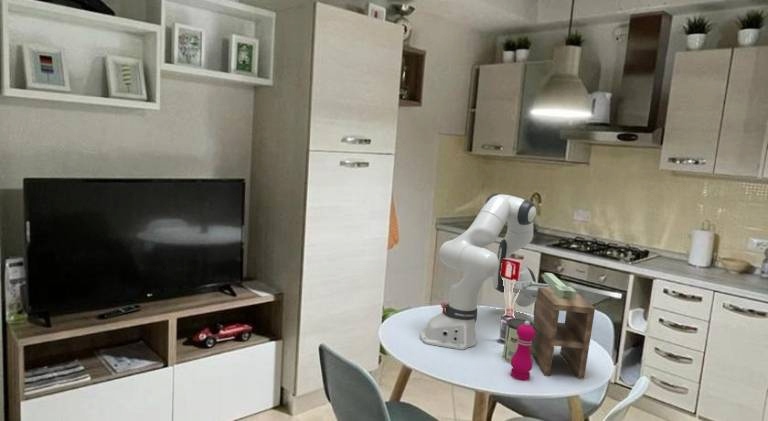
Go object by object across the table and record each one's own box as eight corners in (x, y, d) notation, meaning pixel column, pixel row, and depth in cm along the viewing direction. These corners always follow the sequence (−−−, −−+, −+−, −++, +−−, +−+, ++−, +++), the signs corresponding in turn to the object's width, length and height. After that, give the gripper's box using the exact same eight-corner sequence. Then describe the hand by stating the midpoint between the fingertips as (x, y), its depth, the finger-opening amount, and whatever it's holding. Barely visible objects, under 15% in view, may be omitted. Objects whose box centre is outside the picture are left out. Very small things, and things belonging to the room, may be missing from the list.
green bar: (558, 298, 184) (559, 290, 184) (539, 279, 208) (540, 272, 208) (575, 299, 184) (576, 291, 184) (554, 280, 208) (555, 273, 208)
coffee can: (529, 355, 196) (534, 320, 194) (531, 367, 186) (536, 330, 184) (501, 351, 198) (506, 316, 196) (502, 362, 188) (507, 325, 186)
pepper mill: (533, 381, 175) (541, 325, 172) (513, 380, 175) (520, 324, 172) (526, 371, 182) (533, 317, 179) (506, 370, 182) (513, 316, 179)
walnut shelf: (544, 375, 180) (554, 304, 177) (529, 351, 200) (538, 287, 196) (584, 379, 180) (595, 308, 176) (565, 354, 200) (574, 290, 196)
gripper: (508, 282, 229) (516, 274, 216) (554, 287, 229) (565, 279, 216) (508, 296, 226) (516, 289, 213) (554, 301, 226) (565, 294, 213)
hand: (541, 284), depth 215 cm, fingers open, 8 cm apart
